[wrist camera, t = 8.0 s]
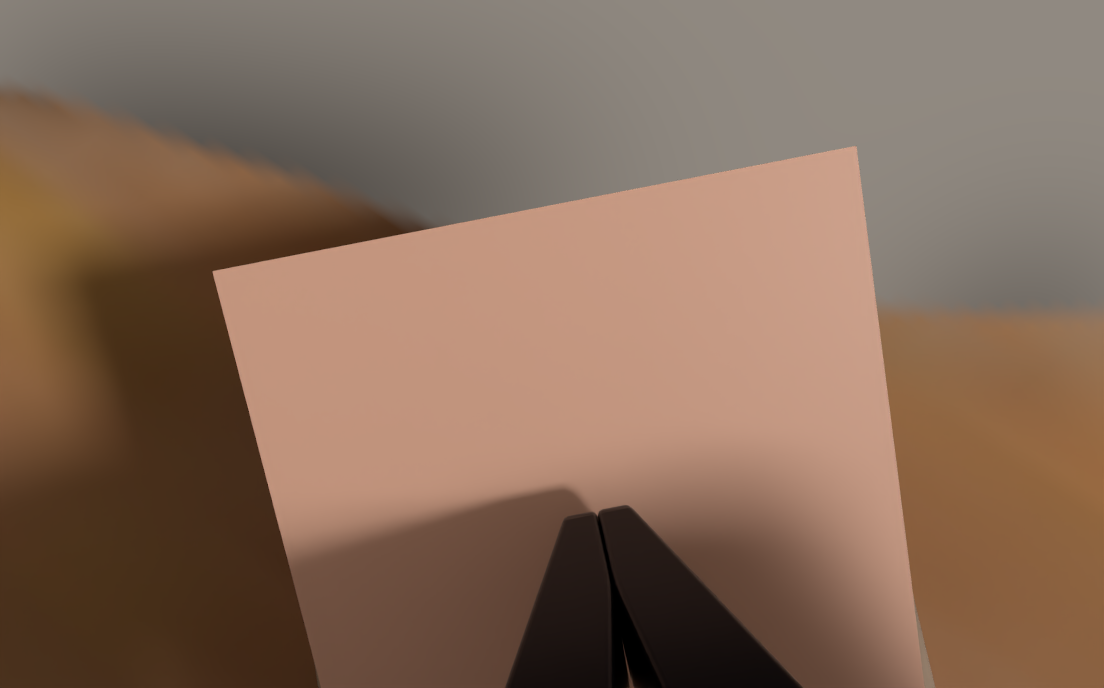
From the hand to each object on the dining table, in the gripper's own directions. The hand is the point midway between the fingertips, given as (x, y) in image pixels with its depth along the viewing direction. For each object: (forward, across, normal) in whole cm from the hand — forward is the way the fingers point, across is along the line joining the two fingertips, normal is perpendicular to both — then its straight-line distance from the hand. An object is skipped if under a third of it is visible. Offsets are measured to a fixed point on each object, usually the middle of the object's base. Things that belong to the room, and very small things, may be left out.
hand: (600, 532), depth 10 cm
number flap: (-2, 0, -6) cm, 6 cm away
